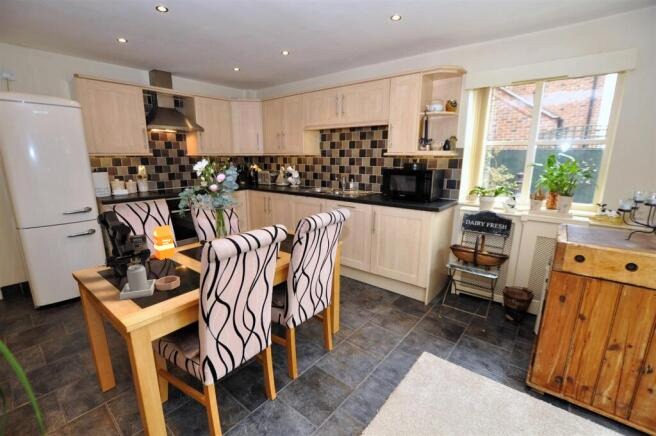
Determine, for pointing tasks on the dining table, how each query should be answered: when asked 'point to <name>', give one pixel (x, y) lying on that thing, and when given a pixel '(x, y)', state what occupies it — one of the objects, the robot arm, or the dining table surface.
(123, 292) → the tray
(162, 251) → the orange juice
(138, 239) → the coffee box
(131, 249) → the robot arm
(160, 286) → the collar
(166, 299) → the dining table surface
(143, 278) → the can
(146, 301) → the dining table surface
